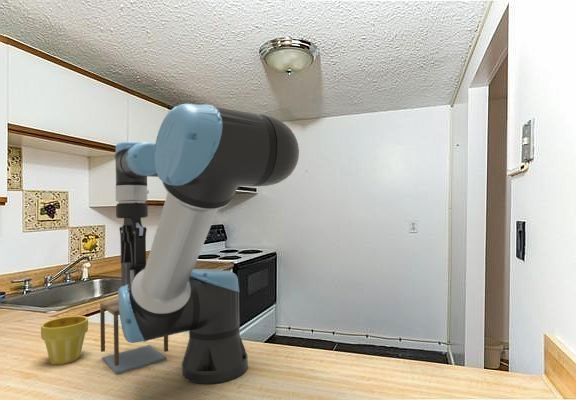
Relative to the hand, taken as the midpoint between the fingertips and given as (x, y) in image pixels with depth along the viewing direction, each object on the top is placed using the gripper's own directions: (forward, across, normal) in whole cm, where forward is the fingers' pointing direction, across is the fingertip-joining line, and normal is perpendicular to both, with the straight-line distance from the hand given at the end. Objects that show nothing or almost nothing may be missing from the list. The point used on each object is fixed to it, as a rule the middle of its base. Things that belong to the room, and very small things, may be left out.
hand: (133, 293), depth 93 cm
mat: (+17, 0, 0) cm, 17 cm away
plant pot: (+17, +13, +13) cm, 25 cm away
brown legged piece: (+15, 0, 0) cm, 15 cm away
